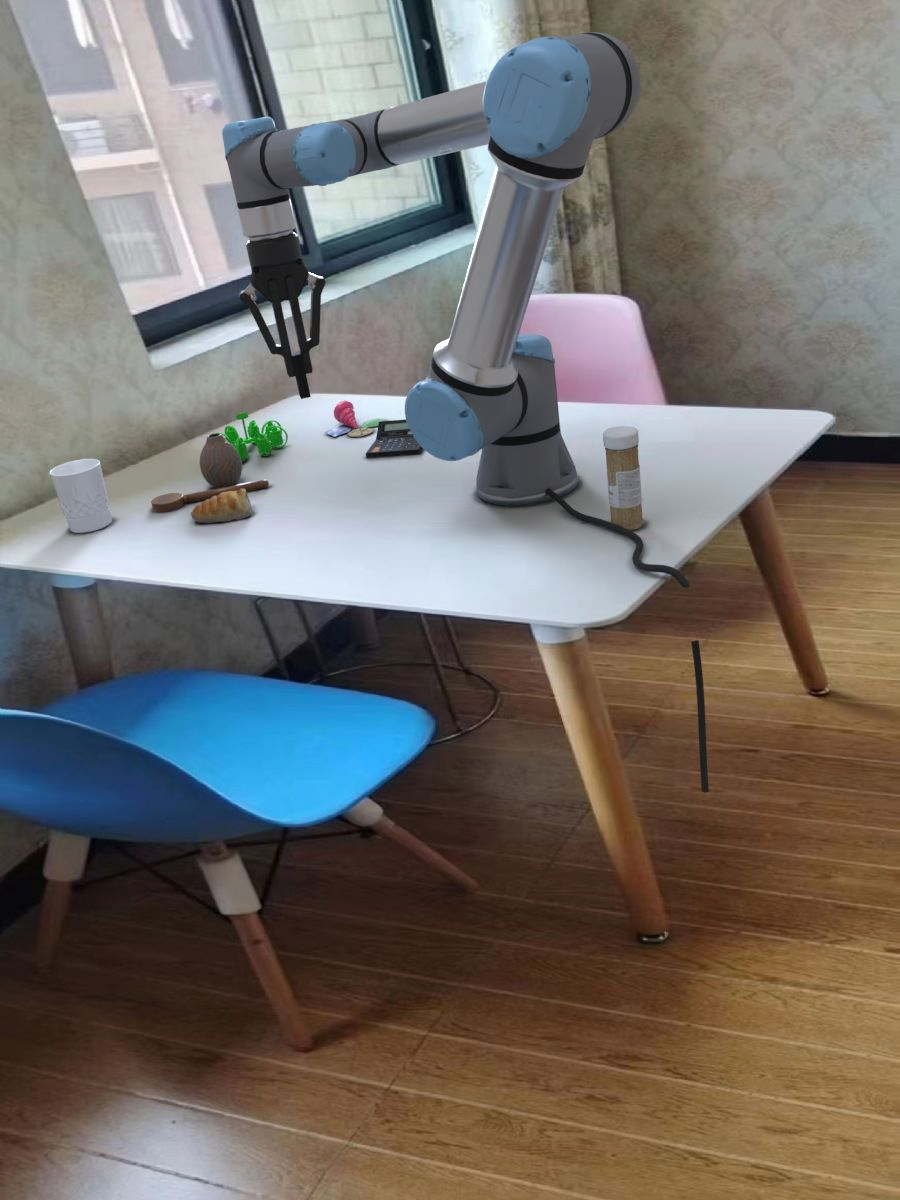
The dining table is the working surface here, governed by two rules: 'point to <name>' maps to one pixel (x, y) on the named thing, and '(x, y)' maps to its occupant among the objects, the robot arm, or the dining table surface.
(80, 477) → the white cup
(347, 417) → the toy pieces
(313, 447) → the dining table surface
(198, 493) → the wooden spoon
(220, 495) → the pastry
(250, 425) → the chandelier
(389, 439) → the calculator
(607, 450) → the sprinkles bottle
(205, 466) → the vase
